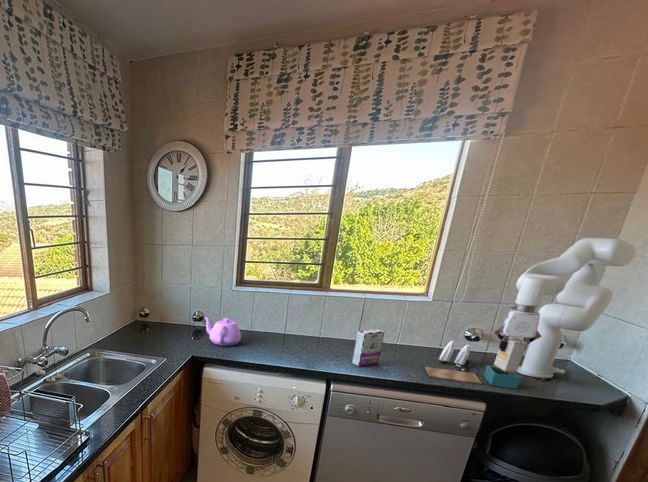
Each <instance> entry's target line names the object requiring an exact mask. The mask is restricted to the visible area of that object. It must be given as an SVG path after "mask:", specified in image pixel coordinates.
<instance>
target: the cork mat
mask: <svg viewBox="0 0 648 482" xmlns="http://www.w3.org/2000/svg"><path fill="white" fill-rule="evenodd" d="M424 369H425V371H426V374H427V376H428V377H429V378H436V379H441V380H448V381H449V380H450V381H456V382H464V383H470V384H477V385H483V383H482V381H481V380H480V379H479V377H478V376H477V375H476V373H474V372H469V371H468V372H467V371H460V370H454V369H445V368H437V367H431V366H424Z"/></svg>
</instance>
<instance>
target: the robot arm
mask: <svg viewBox="0 0 648 482" xmlns="http://www.w3.org/2000/svg"><path fill="white" fill-rule="evenodd" d="M636 255H637V249H636V247H635V245H633V244H632V243H629V242H627V241H626V240H623V239H621V238H620V239H619V238H609V237H607V238H605V237H586V238H581V239H579V240H577V241H576V242H575V243H574V244H572V245H571V246H569V248H568V249H567V250H565V251H564V252H563V253H562V254H561V255H559V256H558V257H555V258H551V259H548V260H545V261H542V262H539V263H536V264H534V265H532V266H530V267H529V268H528V269H527V270H526V271H525V272H523V273H522V274H521V276H519V278H518V279H517V281H516V283H515V287H516V290H518V293H517V296H516V299H515V301H514V303H513V304H509V306H508V308H509V309H511V310H509V312H508V314H507V315H506V317H505V319H504V321H503V324H502V326H500V327H498V328H497V329H495V330H494V331H493V334H495V336H496V337H497V338H498V339H499V340H500V342H499V344H498V350H499V349H500V350H501V351H504V349H505V347H506V344H507V342H506V340H507V339H508V338H509V337H516V338H522V340H523V341H525V342H527V345H526V348H525V350H524V352H526V353H525V355H524V359H523V360H522V363H521V366H519V367H518V370H517V372H516V373H517V374H518V373H519V374H521V375H524V376H528V377H531V378H538V379H552V378H553V377H554V374H559V375H565V374H566V369H560V368H559V367H554V366H553V364H554V363H555V359H556V357H557V354H558V352H559V349H560V347H561V344H562V342H563V339H564V338H563V337H564V336H563V332H562V330H561V329H564V330H570V331H574V332H586V331H588V330H590V329H591V328H592V327H593V325H594V324H595V323H596V322H597V320H598V319H599V318H600V317H601V315H602V314H603V313H604V312H605V311H606V309H607V308H608V307H609V305H610V304H611V302H612V299H613V295H614V293H613V291H612V289H610V288H609V287H606V286H598V285H597V284H598V283H599V282H600V280H601V275H600V273H599V271H598V270H597V269H596V265H597V266H608V267H625V266H627V265H629V264H630V263H632V262H633V260H634V259H635V258H636ZM567 275H571V276H570V277H569V279H568V281H567V282H566V280H565V279H564V278H563V277H561V276H567ZM544 296H551V297H552V296H556V303H547V304H545V305H542V307H540V306H541V304H542V301H543V299H544ZM501 333H502V334H503V335H502V334H501Z"/></svg>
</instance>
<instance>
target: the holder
mask: <svg viewBox="0 0 648 482" xmlns="http://www.w3.org/2000/svg"><path fill="white" fill-rule="evenodd" d="M483 377H484V378H485V380H486V381H487V382H488V383H489V385H491V386H494V387H495V386H496V387H501V388H509V389H518V386H519V384H520V381H521V376H520V375H519V374H518V372H505V371H503V370H501V369H500V368H498V367H496V366H494V365H486V368H485V370H484V373H483Z"/></svg>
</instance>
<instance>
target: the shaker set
mask: <svg viewBox="0 0 648 482" xmlns="http://www.w3.org/2000/svg"><path fill="white" fill-rule="evenodd" d="M455 345H456V342H455V340H450V341H449V342H448V343H447V345H445V347H444V348H443V350H442V352H441V353H440V356H439V357H438V359H439V362H441V363H449V362H450V360H451V358H452V356H453V354H454V351H455V347H456V346H455ZM470 351H471V344H466V345H465V346H464V347H462V348H461V349H460V351H459V352H458V353H457V355H456V357H455V359H454V362H453V363H454V364H459V365H460V366H461V365H462V366H464V365H466V362H467V360H468V358H469V355H470Z"/></svg>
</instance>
